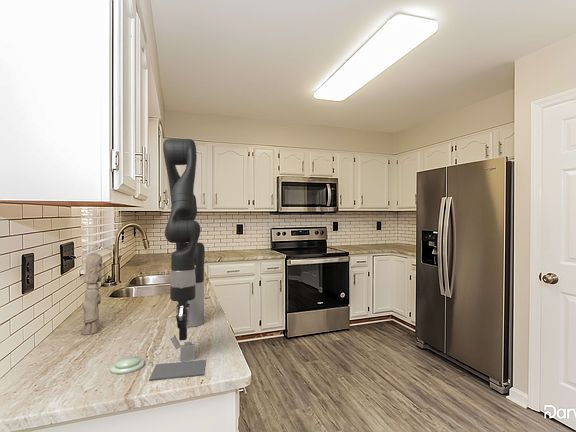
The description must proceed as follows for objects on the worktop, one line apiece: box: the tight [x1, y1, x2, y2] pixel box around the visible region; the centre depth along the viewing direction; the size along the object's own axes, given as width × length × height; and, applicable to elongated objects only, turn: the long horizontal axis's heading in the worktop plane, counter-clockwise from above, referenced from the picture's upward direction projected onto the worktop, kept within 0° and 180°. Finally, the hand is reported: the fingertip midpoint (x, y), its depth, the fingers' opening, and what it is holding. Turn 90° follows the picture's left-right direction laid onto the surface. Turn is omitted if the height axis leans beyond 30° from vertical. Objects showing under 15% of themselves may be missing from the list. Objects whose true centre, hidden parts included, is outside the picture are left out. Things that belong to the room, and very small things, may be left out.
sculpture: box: [80, 252, 103, 336], centre depth 122 cm, size 7×7×30 cm
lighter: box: [169, 333, 196, 362], centre depth 96 cm, size 7×2×8 cm, turn 108°
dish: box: [109, 355, 145, 375], centre depth 92 cm, size 9×9×2 cm
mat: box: [148, 359, 206, 382], centre depth 90 cm, size 9×14×1 cm, turn 102°
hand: (183, 339), depth 99 cm, fingers closed
